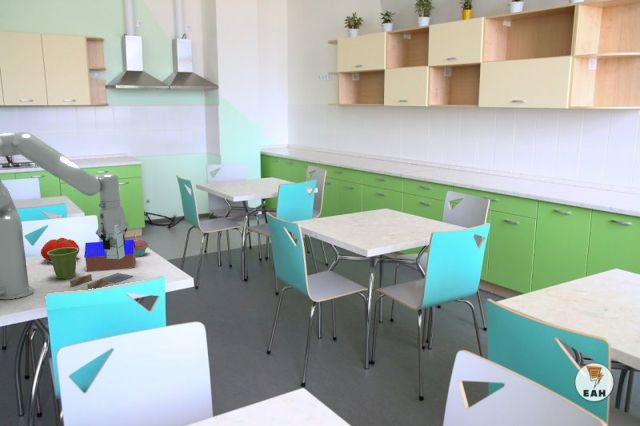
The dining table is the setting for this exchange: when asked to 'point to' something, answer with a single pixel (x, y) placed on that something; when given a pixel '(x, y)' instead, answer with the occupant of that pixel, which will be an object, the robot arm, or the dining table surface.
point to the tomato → (57, 246)
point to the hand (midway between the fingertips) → (114, 246)
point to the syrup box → (115, 245)
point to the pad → (118, 277)
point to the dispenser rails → (89, 278)
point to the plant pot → (64, 261)
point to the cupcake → (140, 246)
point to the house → (99, 262)
